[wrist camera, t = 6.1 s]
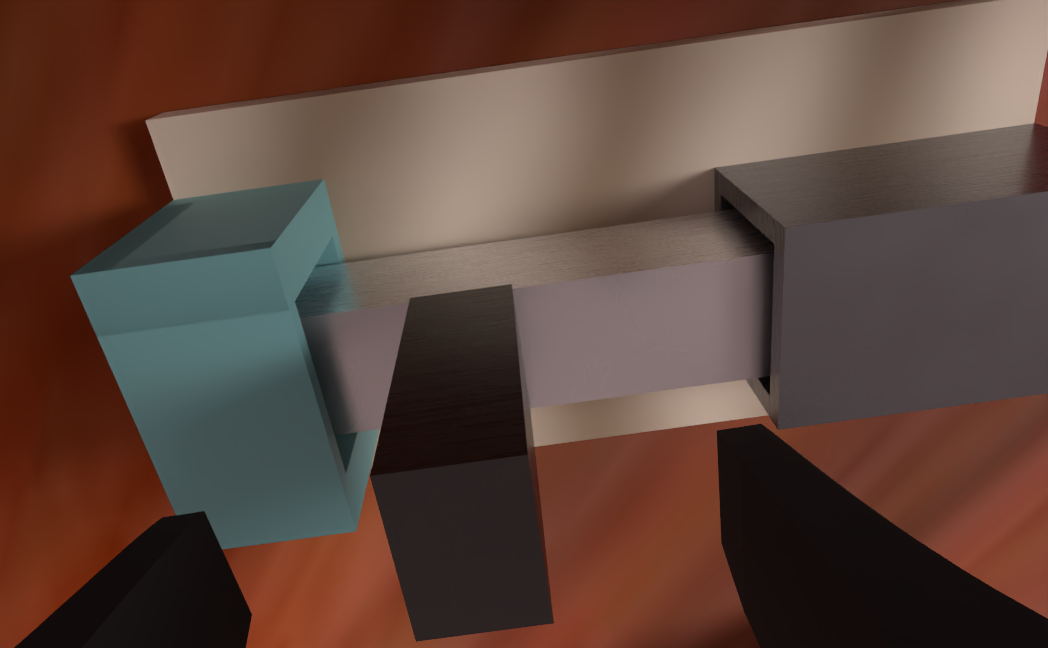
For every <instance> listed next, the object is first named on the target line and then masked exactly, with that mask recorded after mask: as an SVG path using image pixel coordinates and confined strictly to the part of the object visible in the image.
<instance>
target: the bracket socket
mask: <svg viewBox="0 0 1048 648" xmlns="http://www.w3.org/2000/svg"><path fill="white" fill-rule="evenodd" d="M342 263H345V260H344V256H343V252H342V248H341V244H340V240H339V236H338V232H337V228H336V224H335V220H334V216H333V212H332V209H331V205H330V201H329V197H328V193H327V189H326V185H325V181H324V179H320V180H312V181H305V182H298V183H291V184H284V185H277V186H269V187H262V188H255V189H248V190H241V191H234V192H226V193H219V194H212V195H205V196H198V197H191V198H183V199H176V200H173V201H171V202H170V203H168V204H167V205H166V206H164V207H163V208H162V209H160V210H159V211H158V212H156V213H155V214H153V215H152V216H151V217H149V218H148V219H147V220H145V221H144V222H143V223H141V224H140V225H139V226H137V227H136V228H134V229H133V230H132V231H130V232H129V233H128V234H126V235H125V236H124V237H122V238H121V239H119V240H118V241H117V242H115V243H114V244H113V245H111V246H110V247H109V248H107V249H106V250H104V251H103V252H102V253H100V254H99V255H98V256H96V257H95V258H94V259H92V260H91V261H89V262H88V263H87V264H85V265H84V266H83V267H81V268H80V269H79V270H77V271H76V272H74V273H73V274H72V275H70V277H71V279H72V282H73V284H74V286H75V288H76V291H77V293H78V295H79V297H80V300H81V302H82V304H83V306H84V309H85V311H86V313H87V315H88V318H89V320H90V322H91V324H92V327H93V329H94V331H95V334H96V336H97V338H98V340H99V343H100V345H101V347H102V349H103V352H104V354H105V356H106V358H107V361H108V363H109V365H110V367H111V370H112V372H113V374H114V376H115V379H116V381H117V383H118V385H119V388H120V390H121V392H122V395H123V397H124V399H125V401H126V404H127V406H128V408H129V410H130V413H131V415H132V417H133V419H134V422H135V424H136V426H137V428H138V431H139V433H140V435H141V437H142V440H143V442H144V444H145V446H146V449H147V451H148V453H149V456H150V458H151V460H152V462H153V465H154V467H155V469H156V471H157V474H158V476H159V478H160V480H161V483H162V485H163V487H164V489H165V492H166V494H167V496H168V498H169V501H170V503H171V505H172V507H173V510H174V512H175V514H176V515H182V514H188V513H195V512H201V511H205V513H206V516H207V518H208V520H209V522H210V524H211V527H212V529H213V531H214V533H215V535H216V537H217V540H218V542H219V544H220V546H221V548H222V549H229V548H236V547H243V546H251V545H258V544H266V543H273V542H281V541H288V540H295V539H303V538H310V537H318V536H325V535H333V534H340V533H347V532H355V531H356V530H357V526H358V521H359V517H360V512H361V508H362V504H363V499H364V495H365V490H366V486H367V482H368V477H369V473H370V468H371V464H372V460H373V455H374V451H375V446H376V442H377V438H378V433H379V429H378V430H371V431H363V432H356V433H349V434H341V435H334V432H333V429H332V425H331V422H330V418H329V415H328V412H327V408H326V405H325V402H324V398H323V395H322V391H321V388H320V385H319V381H318V378H317V375H316V371H315V368H314V364H313V361H312V358H311V354H310V351H309V348H308V344H307V341H306V337H305V334H304V331H303V327H302V324H301V321H300V317H299V314H298V310H297V307H296V304H295V300H296V298H297V297H298V295H299V293H300V292H301V290H302V288H303V286H304V285H305V283H306V281H307V279H308V278H309V276H310V274H311V272H312V271H313V269H314V267H320V266H327V265H335V264H342Z"/></svg>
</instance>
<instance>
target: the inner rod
mask: <svg viewBox="0 0 1048 648" xmlns="http://www.w3.org/2000/svg"><path fill="white" fill-rule="evenodd" d="M773 274H774V243H773V242H771V241H770V240H769V239H768V238H767V237H766V236H765V235H764V234H763V233H762V232H761V231H760V230H759V229H758V228H756V227H755V226H754V225H753V224H752V223H751V222H750V221H749V220H748V219H747V218H746V217H745V216H744V215H742V214H741V213H740V212H739V211H738V210H737V209H732V210H725V211H718V212H711V213H703V214H696V215H689V216H682V217H674V218H667V219H660V220H653V221H646V222H638V223H631V224H624V225H617V226H609V227H602V228H595V229H588V230H580V231H573V232H566V233H559V234H552V235H544V236H537V237H530V238H523V239H515V240H508V241H501V242H494V243H486V244H479V245H472V246H465V247H458V248H450V249H443V250H436V251H429V252H421V253H414V254H407V255H400V256H392V257H385V258H378V259H371V260H364V261H356V262H349V263H342V264H335V265H327V266H320V267H314V269H313V271H312V272H311V274H310V276H309V278H308V279H307V281H306V283H305V285H304V286H303V288H302V290H301V292H300V293H299V295H298V297H297V298H296V300H295V304H296V307H297V310H298V314H299V317H300V321H301V324H302V327H303V331H304V334H305V337H306V341H307V344H308V348H309V351H310V354H311V358H312V361H313V364H314V368H315V371H316V375H317V378H318V381H319V385H320V388H321V391H322V395H323V398H324V402H325V405H326V408H327V412H328V415H329V418H330V422H331V425H332V429H333V432H334V435H341V434H349V433H356V432H363V431H371V430H378V429H381V430H380V434H379V439H378V443H377V447H376V452H375V456H374V461H373V465H372V470H371V474H370V478H371V481H372V485H373V488H374V492H375V496H376V499H377V503H378V506H379V510H380V514H381V517H382V521H383V524H384V528H385V532H386V535H387V539H388V542H389V546H390V550H391V553H392V557H393V560H394V564H395V567H396V571H397V575H398V578H399V582H400V585H401V589H402V593H403V596H404V600H405V603H406V607H407V611H408V614H409V618H410V621H411V625H412V629H413V632H414V636H415V639H416V641H423V640H431V639H438V638H446V637H453V636H461V635H468V634H476V633H483V632H491V631H498V630H506V629H513V628H521V627H528V626H536V625H543V624H551V623H554V622H553V613H552V604H551V595H550V585H549V576H548V567H547V558H546V549H545V539H544V530H543V521H542V512H541V503H540V493H539V484H538V475H537V466H536V456H535V447H534V438H533V429H532V420H531V411H530V409H532V408H540V407H547V406H555V405H562V404H569V403H577V402H584V401H591V400H599V399H606V398H613V397H621V396H628V395H635V394H643V393H650V392H658V391H665V390H672V389H680V388H687V387H694V386H702V385H709V384H716V383H724V382H731V381H738V380H746V379H753V378H761V377H768V376H770V373H771V340H772V307H773Z"/></svg>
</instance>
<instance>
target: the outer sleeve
mask: <svg viewBox="0 0 1048 648" xmlns="http://www.w3.org/2000/svg"><path fill="white" fill-rule="evenodd" d="M714 191H715V212H718V211H725V210H732V209H737V210H738V211H739V212H740V213H741V214H742V215H744V216H745V217H746V218H747V219H748V220H749V221H750V222H751V223H752V224H753V225H754V226H755V227H756V228H758V229H759V230H760V231H761V232H762V233H763V234H764V235H765V236H766V237H767V238H768V239H769V240H770V241H771V242H773V243H774V274H773V307H772V340H771V373H770V376H768V377H761V378H753V379H746V381H747V383H748V384H749V386H750V387H751V389H752V390H753V392H754V393H755V395H756V397H757V398H758V400H759V401H760V403H761V404H762V406H763V407H764V409H765V410H766V412H767V414H768V415H769V417H770V418H771V420H772V421H773V423H774V424H775V426H776V428H777V429H778V430H779V429H786V428H794V427H801V426H809V425H816V424H823V423H831V422H838V421H846V420H853V419H860V418H868V417H875V416H883V415H890V414H897V413H905V412H912V411H920V410H927V409H934V408H942V407H949V406H957V405H964V404H971V403H979V402H986V401H994V400H1001V399H1008V398H1016V397H1023V396H1031V395H1038V394H1045V393H1048V127H1046V126H1042V125H1038V124H1035V123H1032V124H1025V125H1018V126H1011V127H1003V128H996V129H989V130H982V131H975V132H967V133H960V134H953V135H946V136H939V137H931V138H924V139H917V140H910V141H903V142H895V143H888V144H881V145H874V146H867V147H859V148H852V149H845V150H838V151H831V152H823V153H816V154H809V155H802V156H795V157H787V158H780V159H773V160H766V161H759V162H751V163H744V164H737V165H730V166H723V167H715V168H714Z"/></svg>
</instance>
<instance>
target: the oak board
mask: <svg viewBox="0 0 1048 648" xmlns="http://www.w3.org/2000/svg"><path fill="white" fill-rule="evenodd" d="M1047 50H1048V0H959V1H952V2H945V3H938V4H931V5H924V6H916V7H909V8H902V9H895V10H888V11H881V12H874V13H867V14H860V15H852V16H845V17H838V18H831V19H824V20H817V21H810V22H803V23H796V24H789V25H781V26H774V27H767V28H760V29H753V30H746V31H739V32H732V33H725V34H717V35H710V36H703V37H696V38H689V39H682V40H675V41H668V42H661V43H654V44H646V45H639V46H632V47H625V48H618V49H611V50H604V51H597V52H590V53H583V54H575V55H568V56H561V57H554V58H547V59H540V60H533V61H526V62H519V63H511V64H504V65H497V66H490V67H483V68H476V69H469V70H462V71H455V72H448V73H440V74H433V75H426V76H419V77H412V78H405V79H398V80H391V81H384V82H376V83H369V84H362V85H355V86H348V87H341V88H334V89H327V90H320V91H313V92H305V93H298V94H291V95H284V96H277V97H270V98H263V99H256V100H249V101H241V102H234V103H227V104H220V105H213V106H206V107H199V108H192V109H185V110H178V111H170V112H163V113H161V114H159V115H157V116H154V117H152V118H150V119H147V120H145V121H146V124H147V127H148V130H149V133H150V135H151V138H152V141H153V144H154V147H155V149H156V152H157V155H158V158H159V161H160V164H161V166H162V169H163V172H164V175H165V178H166V180H167V183H168V186H169V189H170V192H171V195H172V197H173V200H176V199H183V198H191V197H198V196H205V195H212V194H219V193H226V192H234V191H241V190H248V189H255V188H262V187H269V186H277V185H284V184H291V183H298V182H305V181H312V180H320V179H324V181H325V185H326V189H327V193H328V197H329V201H330V205H331V209H332V212H333V216H334V220H335V224H336V228H337V232H338V236H339V240H340V244H341V248H342V252H343V256H344V260H345V263H349V262H356V261H364V260H371V259H378V258H385V257H392V256H400V255H407V254H414V253H421V252H429V251H436V250H443V249H450V248H458V247H465V246H472V245H479V244H486V243H494V242H501V241H508V240H515V239H523V238H530V237H537V236H544V235H552V234H559V233H566V232H573V231H580V230H588V229H595V228H602V227H609V226H617V225H624V224H631V223H638V222H646V221H653V220H660V219H667V218H674V217H682V216H689V215H696V214H703V213H711V212H715V191H714V168H715V167H723V166H730V165H737V164H744V163H751V162H759V161H766V160H773V159H780V158H787V157H795V156H802V155H809V154H816V153H823V152H831V151H838V150H845V149H852V148H859V147H867V146H874V145H881V144H888V143H895V142H903V141H910V140H917V139H924V138H931V137H939V136H946V135H953V134H960V133H967V132H975V131H982V130H989V129H996V128H1003V127H1011V126H1018V125H1025V124H1032V123H1034V120H1035V114H1036V109H1037V104H1038V98H1039V93H1040V87H1041V82H1042V77H1043V71H1044V66H1045V61H1046V55H1047ZM530 411H531V420H532V429H533V438H534V447H536V446H544V445H551V444H558V443H566V442H573V441H581V440H588V439H595V438H603V437H610V436H618V435H625V434H632V433H640V432H647V431H654V430H662V429H669V428H677V427H684V426H691V425H699V424H706V423H714V422H721V421H728V420H736V419H743V418H751V417H758V416H765V415H768V414H767V412H766V410H765V409H764V407H763V406H762V404H761V403H760V401H759V400H758V398H757V397H756V395H755V393H754V392H753V390H752V389H751V387H750V386H749V384H748V383H747V381H746V380H738V381H731V382H724V383H716V384H709V385H702V386H694V387H687V388H680V389H672V390H665V391H658V392H650V393H643V394H635V395H628V396H621V397H613V398H606V399H599V400H591V401H584V402H577V403H569V404H562V405H555V406H547V407H540V408H532V409H530ZM380 430H381V429H379V433H378V438H377V442H376V446H375V451H374V455H373V460H372V464H371V468H370V469H372V465H373V461H374V456H375V452H376V447H377V443H378V439H379V434H380Z"/></svg>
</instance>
